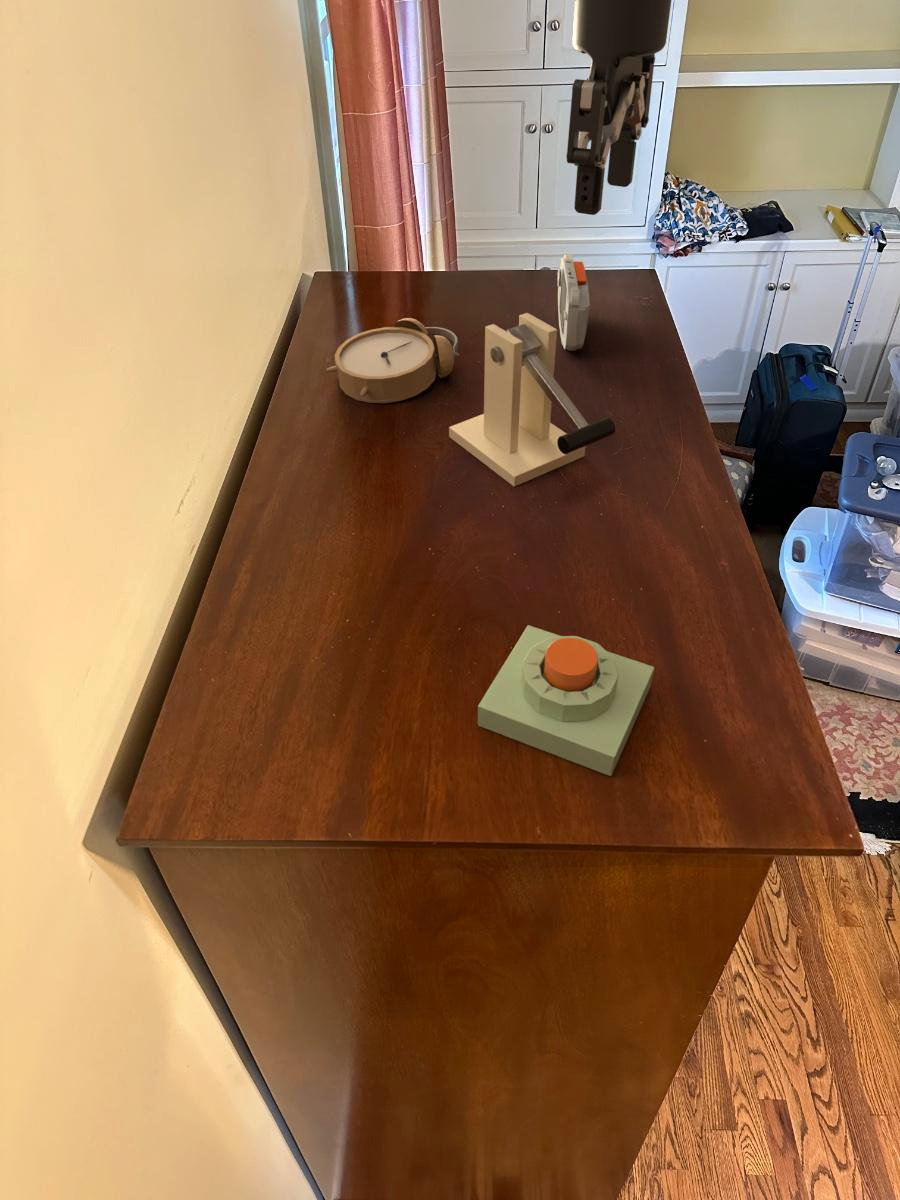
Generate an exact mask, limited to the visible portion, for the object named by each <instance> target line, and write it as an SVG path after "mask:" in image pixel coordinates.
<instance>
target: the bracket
mask: <svg viewBox="0 0 900 1200" xmlns="http://www.w3.org/2000/svg"><path fill="white" fill-rule="evenodd" d="M522 324H526V325H527V327H528V328H529V329H530V331H531V332H532V333H533V335H534V336H535V337H536V339H537V340H538V341H539V343H540V344H541V347H540V349H539V351H538V353H537V356H538V357H539V359H540V360H541V361H542V363H543V364H544V365H545V367H546V368H547V370H548V371H549V372H550V374H551V375H552V376H553V378H554V375H555V362H556V351H557V348H556V347H557V337H558V329H557V328H556V327H553V326H552V325H550V324H548V323H546V322H544V321H543V320H541V319H539V318H537V317H536V316H534V315H532V314H530V313H528V312H526V313H525V312H524V313H523V314H520V315H519V316H518V326H519V325H522ZM484 329H485V330H484V382H483V383H484V384H483V385H484V386H483V387H484V388H483V391H484V392H483V413H482V414H480V415H477V416H474V417H472V418H468V419H467V420H463V421H461V422H459V423H456V424H453V425H451V426H449V427H448V437H449V438H450V439H451V440H452V441H454V442H455V443H456V444H457V445H459V446H460V447H462V448H463V449H464V450H466V451H467V452H468V453H469V454H471V455H472V456H473V457H475V458H476V459H477V460H479V462H481V463H483V464H484V465H485V466H487V467H488V469H490V470H491V471H493V472H494V473H496V475H497V476H499V477H500V478H502V479H503V480H505V482H507V483H508V484H510V485H511V486H512V487H517V486H519V485H522V484H524V483H526V482H528V481H530V480H533V479H536V478H537V477H540V476H542V475H544V474H547V473H549V472H551V471H554V470H556V469H559V468H560V467H563V466H565V465H567V464H570V463H572V462H575V461H577V460H579V459H581V458H584V457H585V454H586V447H587V446H585V447H583V448H580V449H578V450H576V451H573V452H571V453H569V454H563V453H562V452H561V451H560V450H559V448H558V444H557V441H558V438H559V437H560V436H562V435H565V434H567V432H565V431H564V430H562V429H560V428H559V427H557V426H556V425H555V424H553V423H552V422H551V418H552V417H551V415H552V405H553V403H552V402H551V400H550V399H549V398H548V396H547V395H546V394H545V392H544V391H543V390H542V388H541V387H540V386H539V384H538V383H537V382H536V380H535V379H534V377H533V376H532V375H531V373H530V372H529V371H528V369H527V368H526V367H525V365H524V366H522V348H523V341H521V340H519V339H518V338H516V337H514V336H513V335H511V334H509V333H508V332H506V330H505V329H503V328H501V327H499V326H498V325H496V324H494V323H492V324H489V325H486V326H485V327H484Z"/></svg>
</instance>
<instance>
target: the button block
mask: <svg viewBox="0 0 900 1200" xmlns="http://www.w3.org/2000/svg"><path fill="white" fill-rule="evenodd" d="M562 638H577V639H581V640H584V641H586V642H587V643H589V644H590V645H591V646H592V647H593V648H594V649H595V650H596V652H597V655H598V663H597V670H596V676H595V680H594V682H593V683H592V684H591V685H590V686H589V687H588V688H586V689H584V690H581V691H577V692H567V691H563V690H560V689H557V688H555V687H554V686H552V685H551V684H550V683H549V682H548V681H547V679H546V677H545V674H544V665H545V654H546V650H547V648H548V647H549V645H550V644H551V643H553V642H554V641H556V640H558V639H562ZM654 672H655V666H653V665H649V664H647V663H643V662H641V661H638V660H634V659H633V658H632V659H631V658H628V657H626V656H622V655H619V654H616V653H613V652H611V651H608V650H606V649H605V648H603V646H601V644H599V643H598V642H596V641H593V640H590V639H586V638H583V637H580V636H578V635H564V636H563V635H559V634H556V633H553V632H550V631H547V630H545V629H541V628H538V627H535V626H532V625H528V624H527V626H526V627H525V629H524V631H523V632H522V634H521V636H520V637H519V639H518V641H517V642H516V644H515V645H514V648H512V651H511V652H510V654H509V655H508V657H507V658H506V660H505V661H504V664H503V665H502V666H501V668H500V669H499V671H498V673H497V674H496V676H495V677H494V680H493V681H492V683H491V684H490V685H489V688H488V689H487V691H486V692H485V694H484V696H483V697H482V699H481V701H480V702H479V704H478V705H477V726H478V727H480V728H482V729H486V730H489V731H491V732H494V733H496V734H499V735H501V736H503V737H507V738H509V739H512V740H514V741H517V742H519V743H522V744H525V745H528V746H530V747H532V748H535V749H538V750H540V751H542V752H545V753H549V754H551V755H553V756H556V757H558V758H560V759H561V758H562V759H564V760H567V761H569V762H572V763H574V764H576V765H578V766H579V765H580V766H581V767H585V768H588V769H590V770H593V771H595V772H598V773H601V774H603V775H606V776H608V777H612V776H613V773H614V772H615V769H616V766H617V764H618V762H619V760H620V758H621V755H622V753H623V751H624V748H625V746H626V743H627V741H628V740H629V737H630V735H631V733H632V730H633V728H634V725H635V723H636V721H637V718H638V716H639V714H640V712H641V709H642V707H643V705H644V703H645V700H646V698H647V696H648V694H649V691H650V689H651V686H652V681H653V677H654V674H655V673H654Z"/></svg>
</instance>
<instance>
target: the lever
mask: <svg viewBox="0 0 900 1200" xmlns="http://www.w3.org/2000/svg"><path fill="white" fill-rule="evenodd" d="M505 331H506V332H508V333H509V334H511V335H513V336H514V337H516V338H518V339H519V340H521V341H523V348H522V366H524V365H525V367H526V368H527V369H528V371H529V372H530V373H531V375H532V376H533V377H534V379H535V380H536V382H537V383H538V384H539V386H540V387H541V388H542V390H543V391H544V392H545V394H546V395H547V396H548V398H549V399H550V400H551V402H552V405H553V406H554V407H555V409H556V410H557V411H558V413H559V415H560V416H561V417H562V418H563V420H565V422H566V424H567V425H568V426H569V428H570V429H571V431H570V432H568V433H567V432H566V434H565V435H562V436H560V437H559V438H558V441H557V444H558V448H559V450H560V451H561V452H562V453H563V454H569V453H571V452H573V451H576V450H578V449H580V448H583V447H585V446H586V447H587V446H589V445H592V444H594V443H596V442H599V441H601V440H604V439H606V438H608V437H611V436H613V435H614V434H615V432H616V424H615V422H614V420H613V419H612V418H611V417H609V416H606V417H604V418H601V419H599V420H597V421H594V422H591V423H588V422H587V421H586V419H585V417H584V416H583V415H582V414H581V412H580V411H579V409H578V408H577V407H576V405H575V404H574V402H572V401H571V399H570V397H569V396H568V395H567V394H566V392H565V391H564V389H563V388H562V387H561V386H560V384H559V383H558V381H556V379H555V378H554V377H553V376H552V375H551V374H550V372H549V371H548V370H547V368H546V367H545V365H544V364H543V363H542V361H541V360H540V359H539V357H538V356H537V353H538V351H539V349H540V347H541V344H540V343H539V341H538V340H537V339H536V337H535V336H534V335H533V333H532V332H531V331H530V329H529V328H528V327H527V325H526V324H522V325H519V324H518V325H517V326H514V327H511V328H508V329H506V330H505ZM586 447H585V448H586Z"/></svg>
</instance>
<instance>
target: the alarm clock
mask: <svg viewBox="0 0 900 1200" xmlns="http://www.w3.org/2000/svg"><path fill="white" fill-rule="evenodd" d="M430 336H433V340H432V339H431V338H430ZM449 340H450V341H452V342H453V343H454V344H453V345H452V343H451V342H450V341H449ZM458 349H459V341H458V336H457V335H456V333H454V332H453V331H452V330H450V329H447V328H445V327H441V326H440V327H439V326H428V327H425V325H424V324H423V323H422V322H421V321H419V320H417V319H414V318H412V317H405V318H402V319H399V320H397V321H396V322H395V324H393V326H385V327H379V328H372V329H369V330H366V331H362V332H360V333H357V334H355V335H353V336H351V337H350V338H347V339H346V340H345V341H344V342H342V344H340V345H339V346H338V347H337V350H336V351H335V354H334V361H335V365H333V366H329V367H327V368H326V372H327V373H336V372H337V375H338V381H339V387H340V389H341V390H342V391H343V393H344V394H345V395H346V396H348V397H350V398H352V399H354V400H356V401H360V402H364V403H369V404H389V403H390V404H391V403H394V402H395V403H396V402H402V401H404V400H408V399H410V398H413V397H415V396H418V395H419V394H421V393H423V392H424V391H426V390H428V388H429V387H430V386H432V384H433V383H434V382H435V380H436V377H437V373H438V376H439V378H440V379H442V378H446V377H447V376H449V375H450V374H451V372H452V371H453V368H454V365H455V360H456V358H459V357H460V354H459V352H458Z"/></svg>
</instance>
